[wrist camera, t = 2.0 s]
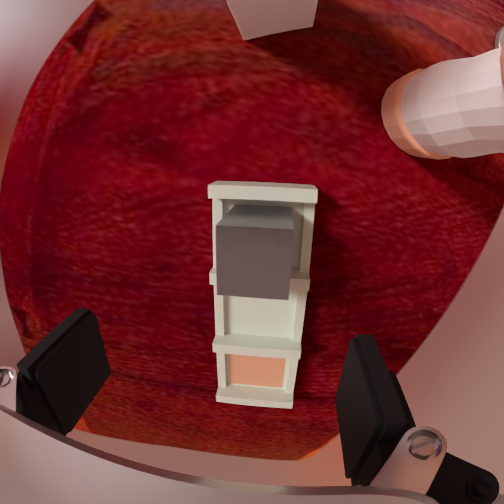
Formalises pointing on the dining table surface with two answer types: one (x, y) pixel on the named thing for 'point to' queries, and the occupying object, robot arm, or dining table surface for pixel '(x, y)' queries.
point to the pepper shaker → (449, 108)
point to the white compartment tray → (262, 305)
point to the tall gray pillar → (255, 252)
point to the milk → (271, 16)
